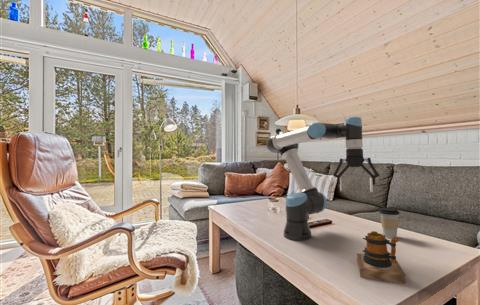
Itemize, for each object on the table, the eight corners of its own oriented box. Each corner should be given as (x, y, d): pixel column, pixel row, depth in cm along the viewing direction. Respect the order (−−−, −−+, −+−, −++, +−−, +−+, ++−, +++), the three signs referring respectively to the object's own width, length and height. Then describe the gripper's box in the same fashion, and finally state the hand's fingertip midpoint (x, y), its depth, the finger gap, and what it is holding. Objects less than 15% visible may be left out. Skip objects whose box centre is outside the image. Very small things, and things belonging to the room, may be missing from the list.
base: (360, 276, 85) (360, 268, 85) (356, 260, 98) (356, 253, 98) (405, 283, 80) (405, 274, 80) (395, 265, 93) (395, 257, 93)
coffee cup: (404, 240, 119) (402, 211, 119) (383, 239, 121) (382, 210, 121) (395, 234, 128) (394, 207, 128) (376, 233, 130) (375, 206, 130)
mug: (356, 259, 92) (355, 230, 92) (372, 254, 97) (371, 226, 97) (390, 274, 81) (389, 240, 81) (406, 266, 85) (405, 235, 86)
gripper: (327, 149, 116) (328, 191, 116) (384, 147, 107) (386, 193, 106) (327, 149, 123) (329, 189, 123) (381, 147, 114) (383, 190, 113)
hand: (355, 191), depth 115 cm, fingers open, 13 cm apart
